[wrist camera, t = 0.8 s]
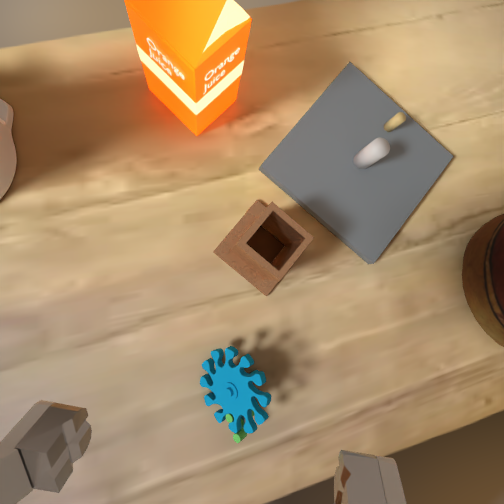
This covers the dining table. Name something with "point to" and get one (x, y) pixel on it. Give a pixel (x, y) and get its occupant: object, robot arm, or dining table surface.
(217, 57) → the orange juice
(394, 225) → the base plate
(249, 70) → the dining table surface
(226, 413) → the gear
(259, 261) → the copper sleeve
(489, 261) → the ceramic pitcher
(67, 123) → the dining table surface
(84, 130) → the dining table surface
